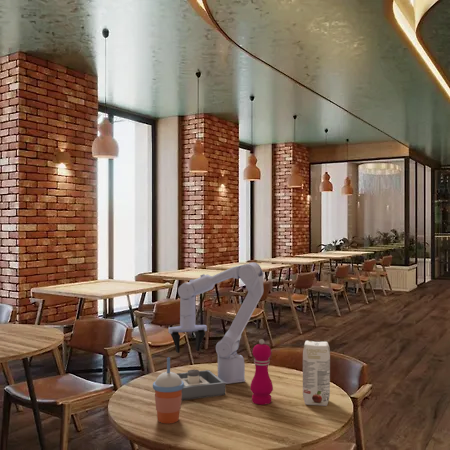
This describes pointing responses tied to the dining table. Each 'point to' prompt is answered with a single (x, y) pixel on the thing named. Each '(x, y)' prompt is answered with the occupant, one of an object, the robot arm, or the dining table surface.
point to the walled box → (203, 386)
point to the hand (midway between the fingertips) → (187, 351)
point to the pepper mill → (261, 375)
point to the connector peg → (193, 376)
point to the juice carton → (316, 373)
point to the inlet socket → (201, 382)
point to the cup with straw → (168, 396)
